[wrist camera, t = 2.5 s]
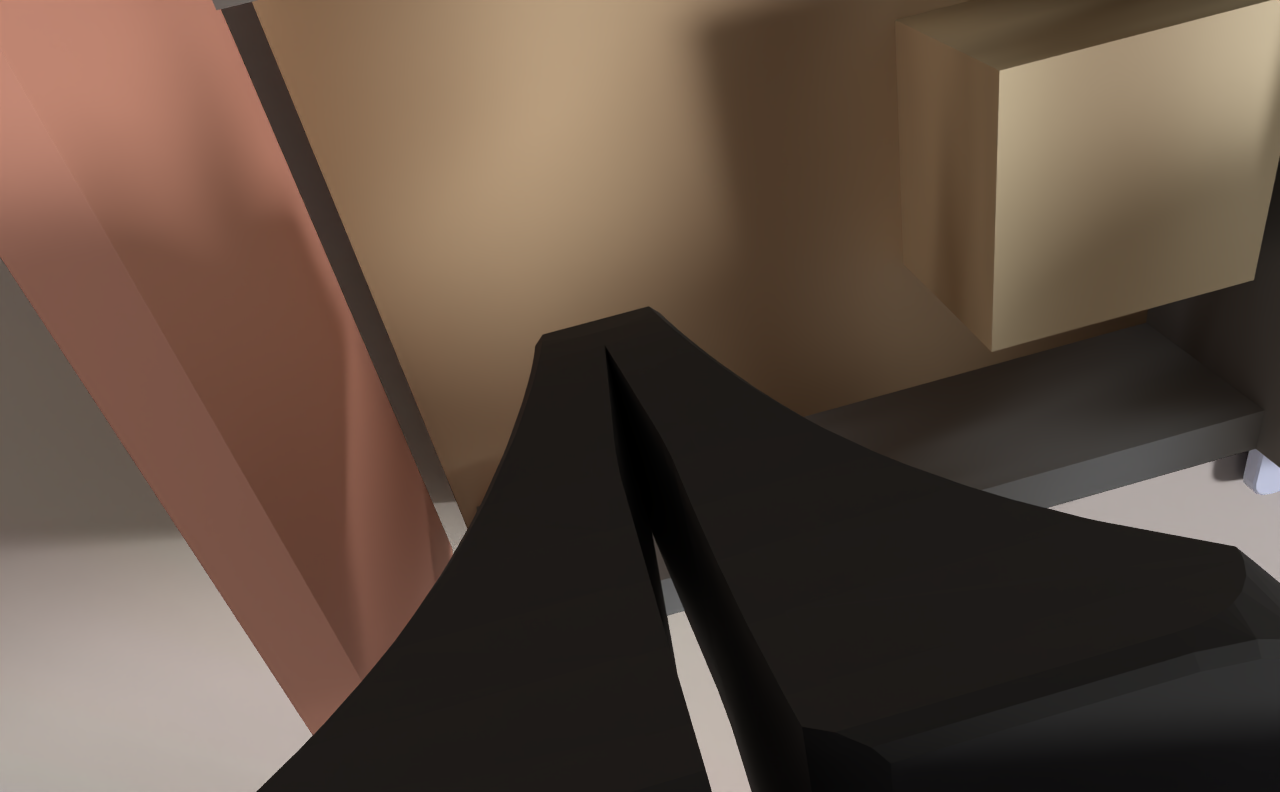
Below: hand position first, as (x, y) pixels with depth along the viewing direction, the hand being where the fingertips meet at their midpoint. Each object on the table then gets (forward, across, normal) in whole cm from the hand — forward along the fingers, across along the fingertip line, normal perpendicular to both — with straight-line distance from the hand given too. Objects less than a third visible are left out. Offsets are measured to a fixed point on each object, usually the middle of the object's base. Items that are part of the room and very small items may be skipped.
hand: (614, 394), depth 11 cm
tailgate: (+4, +4, 0) cm, 6 cm away
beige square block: (+4, -7, 0) cm, 9 cm away
